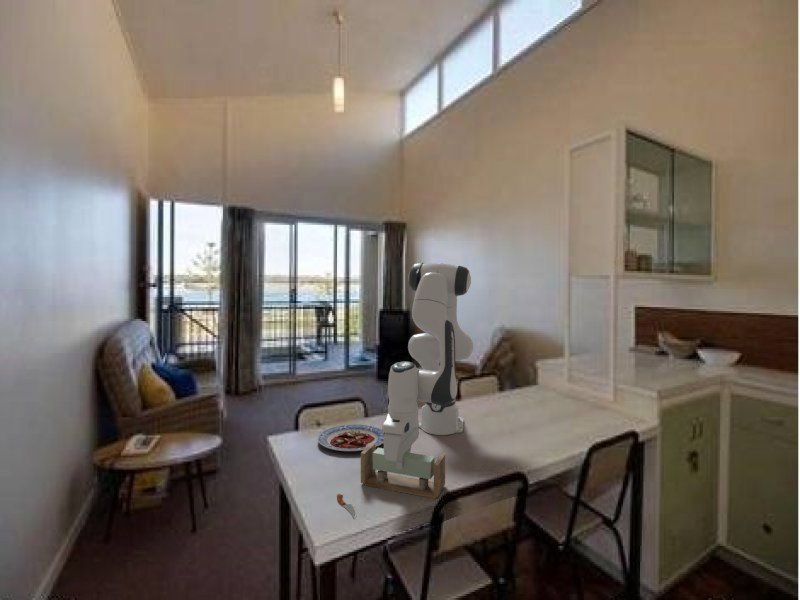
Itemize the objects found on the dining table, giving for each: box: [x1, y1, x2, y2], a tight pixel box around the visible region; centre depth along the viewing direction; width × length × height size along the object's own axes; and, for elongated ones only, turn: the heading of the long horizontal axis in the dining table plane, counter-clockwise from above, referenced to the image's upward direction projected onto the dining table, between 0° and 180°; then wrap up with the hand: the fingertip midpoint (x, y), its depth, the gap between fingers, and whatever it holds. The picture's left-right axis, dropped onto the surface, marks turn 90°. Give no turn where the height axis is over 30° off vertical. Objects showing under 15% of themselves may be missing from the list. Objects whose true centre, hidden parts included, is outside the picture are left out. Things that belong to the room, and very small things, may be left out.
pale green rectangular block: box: [373, 447, 436, 480], centre depth 127 cm, size 4×18×5 cm, turn 69°
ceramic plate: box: [317, 424, 384, 452], centre depth 161 cm, size 26×26×3 cm
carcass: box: [360, 443, 446, 500], centre depth 127 cm, size 8×24×10 cm, turn 70°
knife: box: [336, 493, 358, 520], centre depth 116 cm, size 13×1×3 cm
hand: (402, 464), depth 127 cm, fingers closed on pale green rectangular block, 4 cm apart
